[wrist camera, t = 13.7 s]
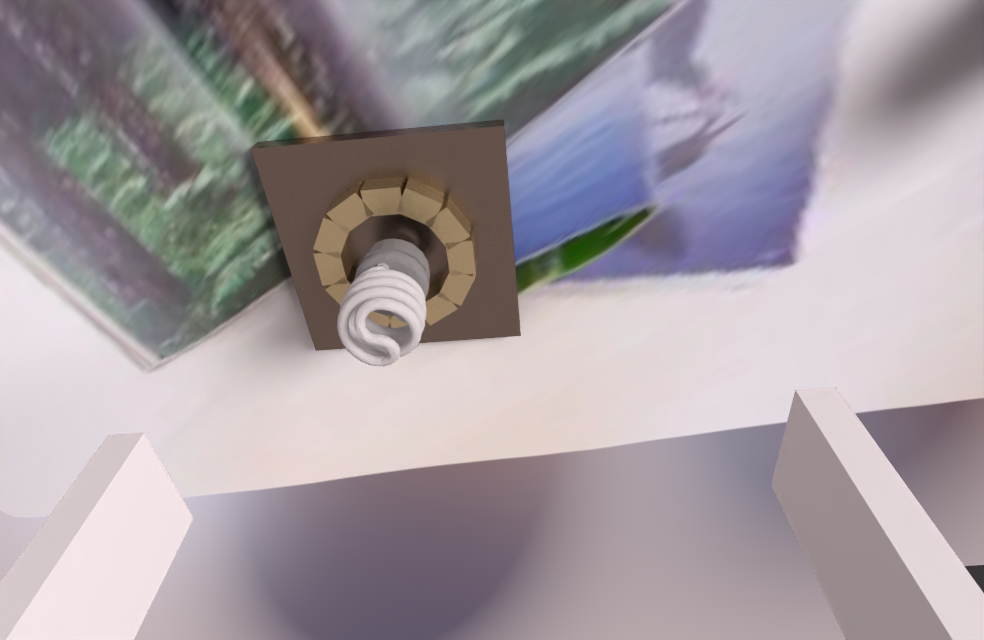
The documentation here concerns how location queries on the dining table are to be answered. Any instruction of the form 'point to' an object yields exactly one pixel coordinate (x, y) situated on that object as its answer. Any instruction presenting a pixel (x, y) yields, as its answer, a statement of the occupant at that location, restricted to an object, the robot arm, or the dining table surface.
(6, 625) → the robot arm
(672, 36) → the dining table surface
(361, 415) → the dining table surface
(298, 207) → the lamp base
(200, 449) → the dining table surface
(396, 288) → the light bulb
